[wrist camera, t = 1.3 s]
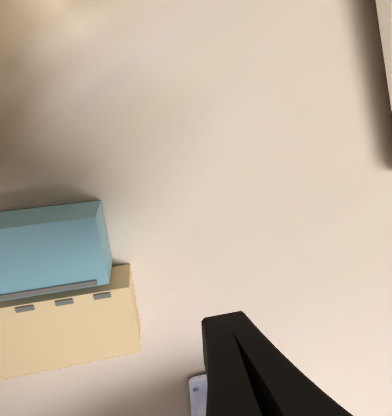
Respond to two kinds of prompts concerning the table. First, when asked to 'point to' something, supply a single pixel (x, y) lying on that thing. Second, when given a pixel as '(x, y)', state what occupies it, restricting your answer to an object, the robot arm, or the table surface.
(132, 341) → the cream usb hub
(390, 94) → the bracket
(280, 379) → the robot arm
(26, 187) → the table surface
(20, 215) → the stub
